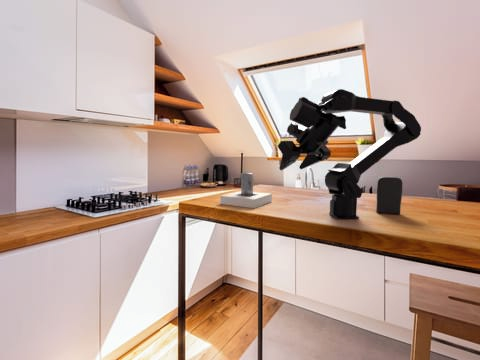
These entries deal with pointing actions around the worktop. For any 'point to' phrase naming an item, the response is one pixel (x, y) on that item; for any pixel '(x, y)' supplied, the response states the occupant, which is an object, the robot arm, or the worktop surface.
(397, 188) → the battery
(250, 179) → the translucent grey tall cylinder
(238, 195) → the hole block
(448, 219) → the worktop surface
